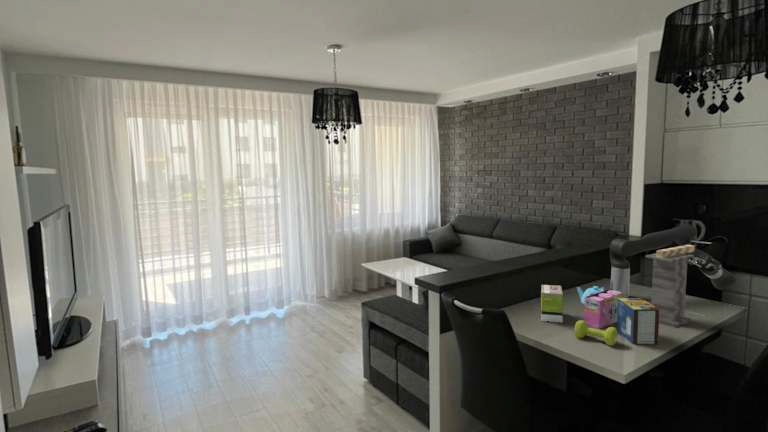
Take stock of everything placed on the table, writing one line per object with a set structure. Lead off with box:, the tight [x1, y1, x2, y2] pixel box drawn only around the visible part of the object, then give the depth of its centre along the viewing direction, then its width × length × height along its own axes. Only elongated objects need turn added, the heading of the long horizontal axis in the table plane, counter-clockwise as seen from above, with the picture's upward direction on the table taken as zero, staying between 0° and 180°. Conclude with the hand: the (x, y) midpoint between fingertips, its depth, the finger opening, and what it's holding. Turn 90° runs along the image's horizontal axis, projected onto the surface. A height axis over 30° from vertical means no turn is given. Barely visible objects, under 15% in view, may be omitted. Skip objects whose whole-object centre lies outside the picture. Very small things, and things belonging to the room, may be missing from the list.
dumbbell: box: [573, 319, 619, 347], centre depth 184 cm, size 16×8×7 cm, turn 46°
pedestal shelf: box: [644, 252, 694, 328], centre depth 204 cm, size 18×14×32 cm
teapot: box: [576, 285, 605, 307], centre depth 228 cm, size 15×15×11 cm
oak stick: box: [655, 244, 696, 258], centre depth 204 cm, size 27×3×3 cm, turn 118°
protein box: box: [616, 297, 660, 345], centre depth 185 cm, size 10×15×16 cm
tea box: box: [540, 284, 564, 323], centre depth 213 cm, size 15×10×15 cm
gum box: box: [583, 288, 624, 330], centre depth 206 cm, size 24×8×14 cm, turn 124°
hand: (697, 257), depth 214 cm, fingers open, 8 cm apart
